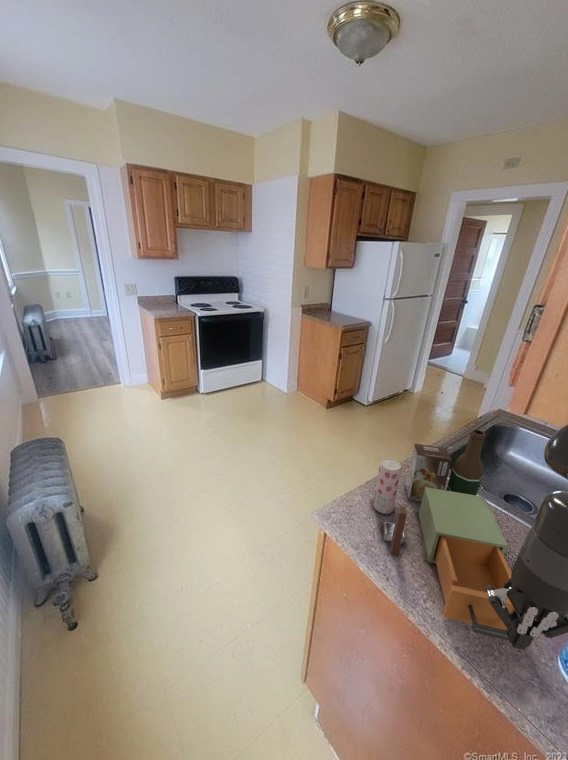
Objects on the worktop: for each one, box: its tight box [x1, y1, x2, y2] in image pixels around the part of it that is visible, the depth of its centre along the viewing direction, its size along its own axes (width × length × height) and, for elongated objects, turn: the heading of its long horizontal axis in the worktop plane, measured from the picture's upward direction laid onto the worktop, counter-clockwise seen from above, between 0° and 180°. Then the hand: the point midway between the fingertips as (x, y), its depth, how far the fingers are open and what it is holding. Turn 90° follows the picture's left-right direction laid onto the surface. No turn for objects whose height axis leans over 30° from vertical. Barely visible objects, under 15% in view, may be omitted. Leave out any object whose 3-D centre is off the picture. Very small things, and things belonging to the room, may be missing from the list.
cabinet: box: [418, 487, 509, 565], centre depth 80 cm, size 16×15×10 cm
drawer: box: [434, 535, 513, 642], centre depth 66 cm, size 19×13×8 cm
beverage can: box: [372, 457, 402, 515], centre depth 90 cm, size 6×6×15 cm
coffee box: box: [406, 443, 453, 503], centre depth 94 cm, size 9×6×16 cm
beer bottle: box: [445, 429, 487, 496], centre depth 91 cm, size 8×8×24 cm
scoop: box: [382, 505, 408, 556], centre depth 79 cm, size 5×8×13 cm, turn 167°
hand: (515, 642), depth 50 cm, fingers closed
